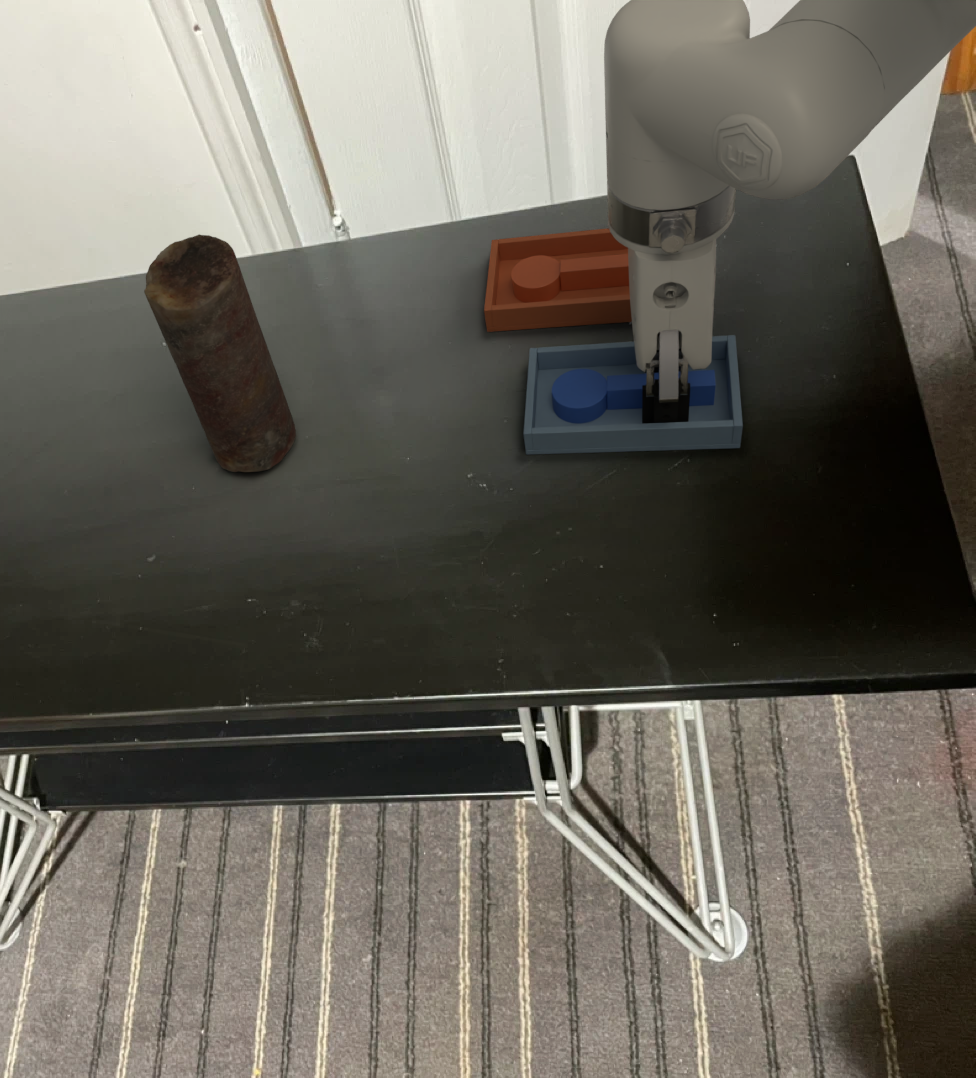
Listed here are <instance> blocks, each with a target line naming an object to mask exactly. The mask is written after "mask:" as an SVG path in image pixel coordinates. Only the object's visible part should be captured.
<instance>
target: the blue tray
mask: <svg viewBox="0 0 976 1078" xmlns="http://www.w3.org/2000/svg"><path fill="white" fill-rule="evenodd" d="M528 350H529V352H528V353H529V354H528V365H527V379H526V392H525V394H526V395H525V404H524V405H525V407H524V408H525V409H524V418H523V419H524V420H523V439H524V448H525V449H524V450H525V455H528V456H529V455H554V454H555V455H556V454H558V455H559V454H589V453H590V454H591V453H621V452H626V453H627V452H657V451H658V452H659V451H688V450H689V451H690V450H719V449H720V450H721V449H722V450H723V449H726V450H727V449H741V445H742V444H741V443H742V435H743V427H744V424H743V411H742V410H743V409H742V398H741V388H740V387H741V386H740V377H739V376H740V375H739V362H738V351H737V350H738V349H737V338H736V334H728V335H715V336H714V335H712V358H711V363H710V365H709V366H708V367H707V368H705V369H695V370H693V369H692V368H691V367H690V365H689V363H688V371H702V370H715V384H716V386H715V398H714V405H706V406H689V420H688V422H669V423H643V424H642V408H638V409H615V410H608V409H607V410H606V411H605V412H604V414H603V415H601V416H600V417H599V418H597V419H595V420H593V421H591V422H587V423H570V422H567V421H564V420H562V419H561V418H559V417H558V416H557V415H556V413H555V412H554V409H553V402H552V386H553V384H554V382H555V380H556V379H557V378H558V377H559V376H561V375H562V374H564V373H566V372H568V371H571V370H575V369H590V370H594V371H596V372H598V373H600V374H601V375H603V376H604V377H605V379H606V380H607V376H611V375H629V374H646V373H645V372H643V371H642V370H640V369H639V368H638V367H637V362H636V354H635V346H634V340H633V341H618V342H604V343H603V342H602V343H589V344H572V345H558V346H557V345H556V346H541V347H529V349H528Z"/></svg>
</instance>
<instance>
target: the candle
mask: <svg viewBox="0 0 976 1078" xmlns="http://www.w3.org/2000/svg"><path fill="white" fill-rule="evenodd" d="M143 293H144V296H145V298H146V300H147V302H148V304H149V307H150V309H151V311H152V314H153V316H154V318H155V321H156V323H157V325H158V327H159V330H160V333H161V335H162V336H163V337H162V338H163V339H164V342H165V343H166V347H167V348H168V351H169V353H170V356H171V357H172V360H173V362H174V364H175V366H176V368H177V371H178V373H179V375H180V378H181V381H182V383H183V385H184V388H185V389H186V392H187V394H188V396H189V398H190V401H191V404H192V406H193V408H194V410H195V413H196V416H197V417H198V420H199V422H200V425H201V427H202V430H203V432H204V434H205V437H206V440H207V441H208V444H209V446H210V448H211V450H212V453H213V455H214V457H215V460H216V462H217V463H218V464H219V466H220V467H221V468H222V469H224V470H227V471H228V472H232V473H237V472H238V473H239V472H242V473H256V472H257V473H258V472H262V471H267V470H270V469H273V467H274V466H276V465H278V464H279V463H280V462H281V461H282V460H283V459H284V457H285V456H286V455H287V453H289V451H290V450H291V448H292V446H293V444H294V443H295V440H296V438H297V429H296V425H295V421H294V419H293V415H292V413H291V410H290V406H289V404H288V400H287V398H286V395H285V392H284V390H283V389H284V388H283V387H282V386H283V385H282V383H281V381H280V378H279V375H278V372H277V370H276V367H275V365H274V362H273V359H272V356H271V353H270V350H269V347H268V345H267V342H266V339H265V336H264V333H263V331H262V328H261V325H260V323H259V322H260V321H259V319H258V317H257V313H256V311H255V307H254V305H253V302H252V299H251V296H250V293H249V290H248V287H247V284H246V282H245V279H244V276H243V273H242V269H241V267H240V264H239V261H238V258H237V255H236V253H235V250H234V248H233V247H232V246H231V245H230V244H229V242H227V241H225V240H223V239H221V238H218V237H217V236H211V235H209V234H208V235H206V234H200V233H199V234H197V235H193V236H190V237H187V238H184V239H182V240H178V241H177V240H176V241H174V242H172V243H170V244H169V245H168V246H166V247H165V248H164V249H163V250H161V251H160V252H159V254H157V256H156V257H155V259H154V260H153V261H152V262H151V263H150V265H149V266H148V269H147V271H146V273H145V289H144V290H143Z"/></svg>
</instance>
